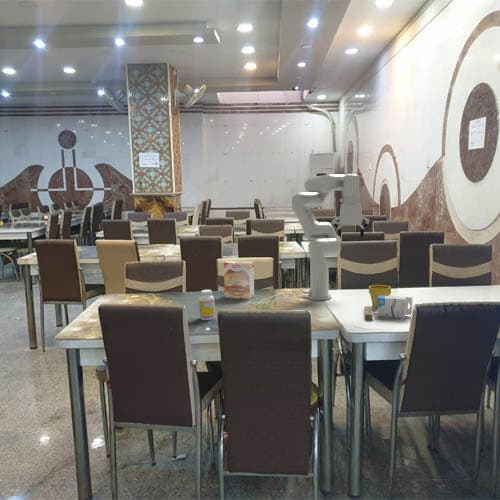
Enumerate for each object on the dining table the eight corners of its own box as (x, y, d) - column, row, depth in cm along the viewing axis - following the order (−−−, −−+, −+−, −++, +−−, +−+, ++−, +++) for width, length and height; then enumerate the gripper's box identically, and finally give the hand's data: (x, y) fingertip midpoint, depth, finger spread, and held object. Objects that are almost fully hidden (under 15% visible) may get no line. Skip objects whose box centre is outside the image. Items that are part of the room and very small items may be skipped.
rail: (365, 320, 198) (365, 314, 197) (364, 311, 212) (364, 306, 212) (372, 320, 197) (372, 314, 197) (371, 311, 211) (371, 306, 211)
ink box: (378, 297, 201) (413, 299, 197) (377, 295, 206) (412, 296, 202) (377, 316, 202) (413, 318, 198) (377, 313, 207) (412, 315, 203)
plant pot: (366, 304, 227) (366, 284, 226) (387, 303, 227) (387, 284, 225) (371, 309, 217) (371, 288, 216) (393, 308, 216) (393, 288, 215)
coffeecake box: (224, 297, 247) (223, 262, 245) (229, 294, 254) (228, 260, 252) (249, 299, 242) (249, 263, 240) (254, 296, 248) (254, 261, 246)
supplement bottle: (200, 316, 208) (199, 289, 207) (214, 316, 209) (213, 288, 207) (199, 320, 202) (198, 292, 200) (214, 320, 202) (213, 291, 201)
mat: (374, 319, 199) (374, 318, 199) (373, 313, 209) (373, 312, 209) (401, 320, 196) (401, 319, 196) (398, 313, 207) (398, 313, 207)
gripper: (331, 201, 210) (331, 238, 212) (370, 200, 206) (370, 238, 208) (332, 201, 217) (332, 236, 219) (369, 200, 214) (369, 236, 216)
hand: (350, 237), depth 214 cm, fingers open, 9 cm apart
